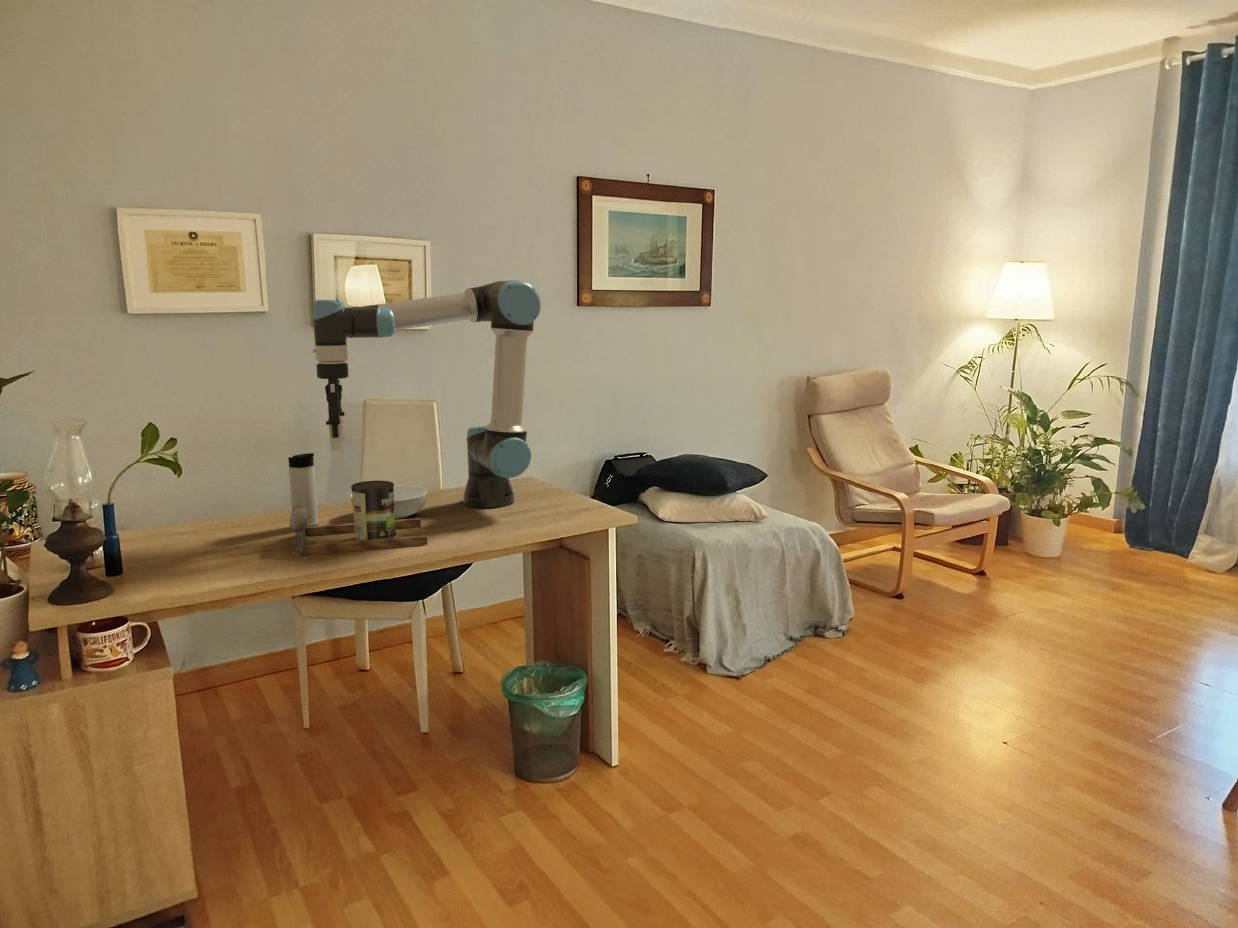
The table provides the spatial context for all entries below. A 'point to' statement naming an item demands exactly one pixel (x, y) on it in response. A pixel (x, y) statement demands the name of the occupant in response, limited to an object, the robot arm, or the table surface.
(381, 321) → the robot arm
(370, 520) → the coffee can
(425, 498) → the serving bowl
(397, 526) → the bay
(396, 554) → the table surface
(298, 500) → the travel mug
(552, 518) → the table surface
